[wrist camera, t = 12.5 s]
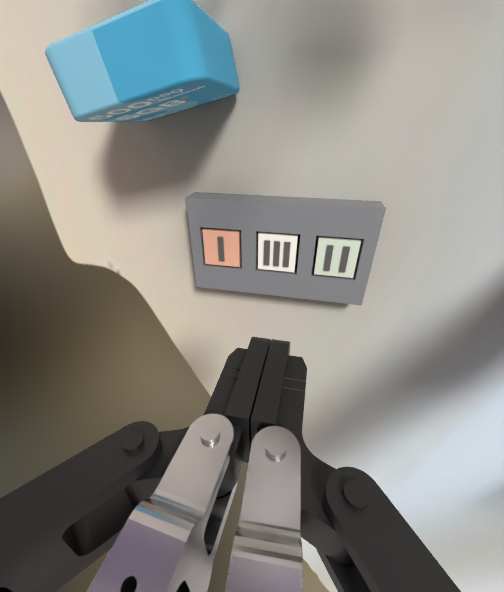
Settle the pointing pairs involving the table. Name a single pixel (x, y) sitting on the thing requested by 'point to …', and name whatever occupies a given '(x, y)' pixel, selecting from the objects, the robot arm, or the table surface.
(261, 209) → the button panel
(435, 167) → the table surface
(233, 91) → the data package
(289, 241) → the button three
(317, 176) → the table surface
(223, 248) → the button one
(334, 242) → the button two
